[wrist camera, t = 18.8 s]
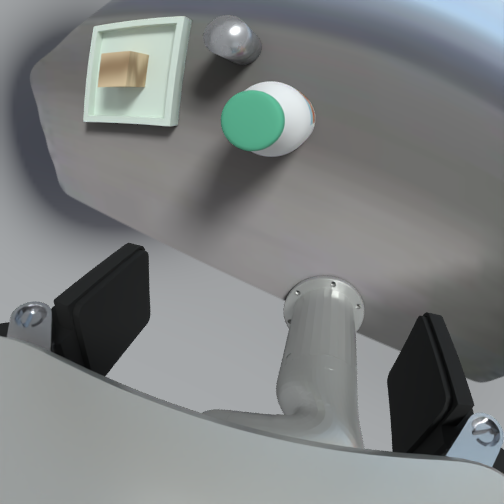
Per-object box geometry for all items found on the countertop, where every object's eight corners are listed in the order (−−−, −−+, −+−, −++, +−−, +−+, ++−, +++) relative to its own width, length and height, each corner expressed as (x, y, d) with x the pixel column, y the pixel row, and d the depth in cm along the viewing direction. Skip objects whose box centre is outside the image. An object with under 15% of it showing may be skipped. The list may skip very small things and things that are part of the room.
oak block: (145, 87, 40) (125, 86, 36) (117, 87, 41) (97, 87, 37) (149, 54, 38) (130, 50, 34) (121, 56, 39) (101, 53, 34)
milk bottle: (318, 144, 40) (310, 169, 22) (260, 148, 42) (207, 178, 24) (312, 86, 37) (297, 62, 19) (253, 93, 39) (192, 79, 21)
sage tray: (177, 125, 43) (169, 126, 41) (93, 120, 45) (83, 121, 43) (192, 20, 36) (184, 16, 33) (103, 28, 38) (93, 26, 36)
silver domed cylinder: (259, 66, 37) (243, 56, 30) (222, 63, 38) (200, 54, 31) (264, 32, 35) (250, 16, 28) (227, 30, 36) (206, 15, 29)
